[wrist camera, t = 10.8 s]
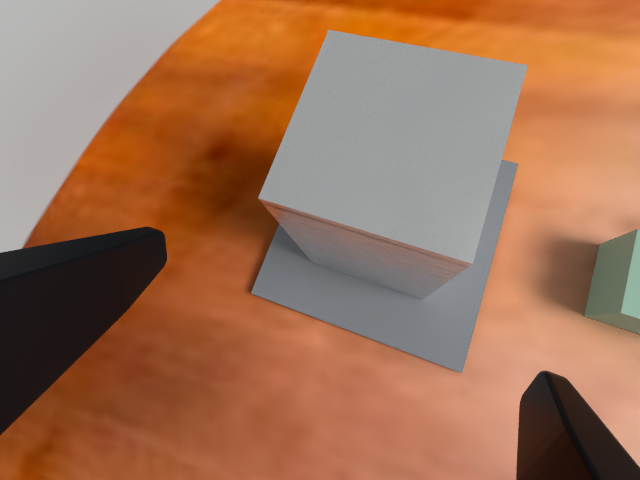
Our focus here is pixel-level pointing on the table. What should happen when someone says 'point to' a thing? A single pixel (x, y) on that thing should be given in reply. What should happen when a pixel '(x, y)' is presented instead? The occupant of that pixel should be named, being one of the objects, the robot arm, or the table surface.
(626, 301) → the pale green block
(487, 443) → the table surface
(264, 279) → the rubber mat
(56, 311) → the robot arm
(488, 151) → the silver grey block
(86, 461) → the table surface
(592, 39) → the table surface
